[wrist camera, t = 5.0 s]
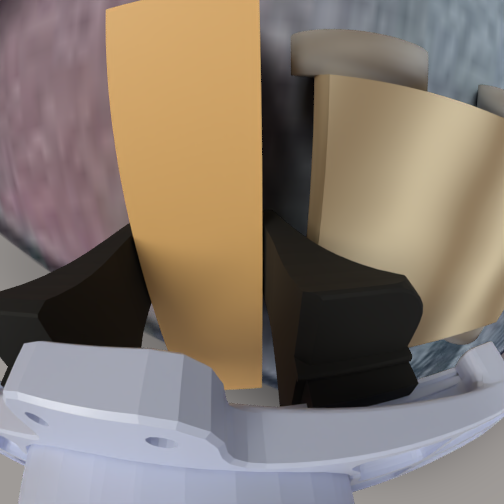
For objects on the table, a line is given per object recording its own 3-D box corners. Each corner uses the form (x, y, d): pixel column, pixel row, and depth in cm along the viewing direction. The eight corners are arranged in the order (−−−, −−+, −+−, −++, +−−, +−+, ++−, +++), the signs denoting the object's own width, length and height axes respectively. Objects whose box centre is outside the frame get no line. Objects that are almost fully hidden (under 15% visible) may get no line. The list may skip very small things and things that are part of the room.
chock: (247, 24, 9) (258, -12, 5) (254, 318, 18) (261, 387, 14) (151, 33, 9) (106, 9, 5) (190, 322, 18) (183, 390, 13)
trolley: (509, 101, 10) (567, 124, 6) (458, 291, 19) (490, 335, 14) (280, 44, 10) (310, 22, 6) (275, 315, 18) (287, 383, 14)
